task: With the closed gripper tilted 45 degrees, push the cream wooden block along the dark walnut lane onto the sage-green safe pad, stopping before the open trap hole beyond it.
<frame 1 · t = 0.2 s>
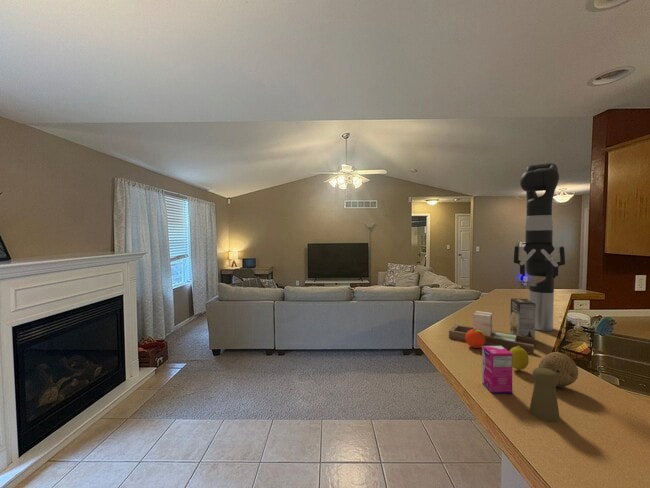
hand: (538, 276, 104), 29 cm above the table, tool pointing down, fingers open, 8 cm apart
coffee box: (521, 339, 127), on the table
supplement box: (496, 389, 86), on the table
natural sponge: (557, 388, 87), on the table
clementine: (476, 348, 117), on the table
cork: (544, 415, 74), on the table
lemon: (518, 371, 98), on the table
walnut lane: (490, 341, 124), on the table
cream block: (482, 332, 126), point 3 cm above the table, touching walnut lane
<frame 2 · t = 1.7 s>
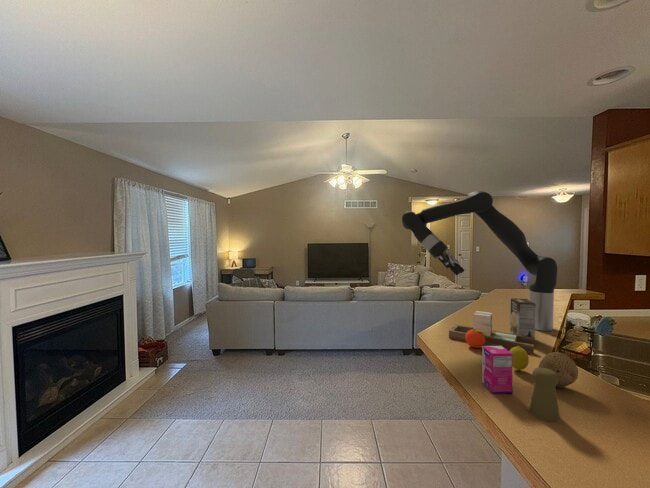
hand: (460, 273, 132), 27 cm above the table, tool tilted 45°, fingers open, 8 cm apart
nothing on the table moved.
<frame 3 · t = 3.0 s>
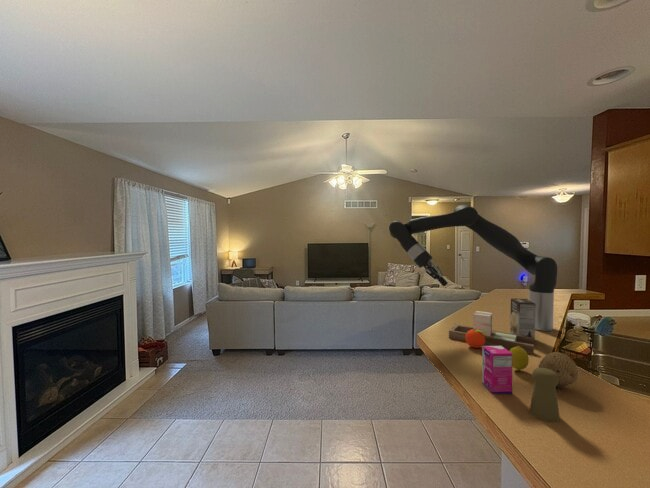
hand: (445, 284, 134), 21 cm above the table, tool tilted 45°, fingers closed
nothing on the table moved.
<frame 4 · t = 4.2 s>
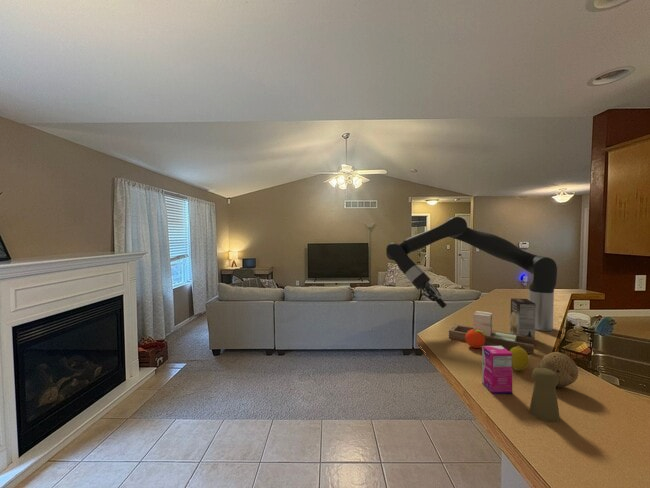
hand: (444, 306, 134), 12 cm above the table, tool tilted 45°, fingers closed
nothing on the table moved.
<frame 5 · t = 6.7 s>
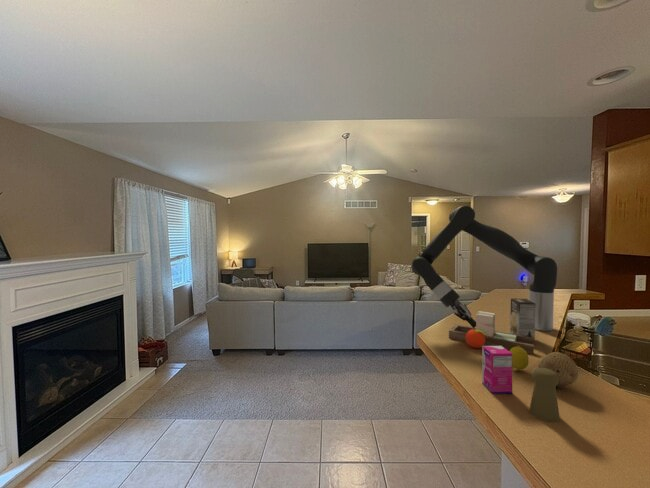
hand: (475, 326, 127), 5 cm above the table, tool tilted 45°, fingers closed
cream block: (485, 333, 125), point 3 cm above the table, touching gripper
everything else where it was.
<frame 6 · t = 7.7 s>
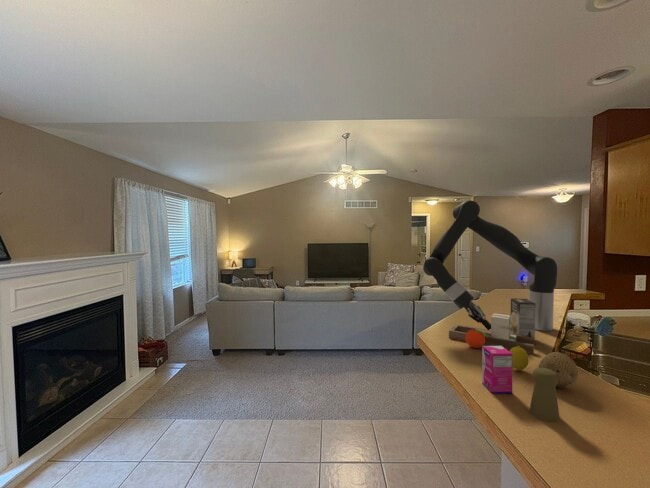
hand: (490, 328, 124), 5 cm above the table, tool tilted 45°, fingers closed
cream block: (500, 335, 122), point 3 cm above the table, touching gripper, walnut lane
everything else where it was.
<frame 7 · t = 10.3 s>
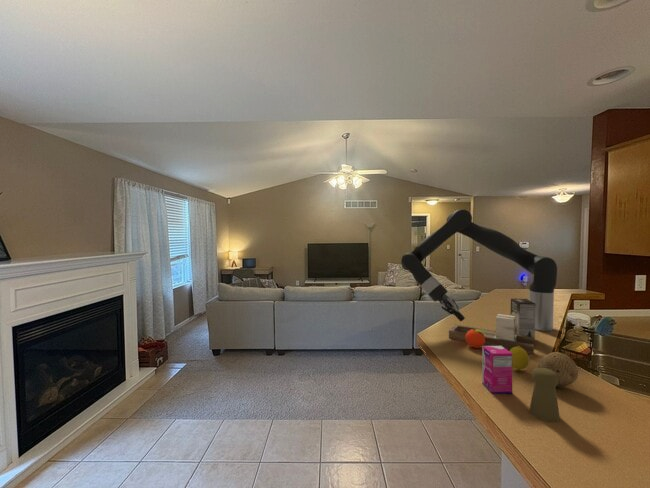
hand: (463, 319, 130), 7 cm above the table, tool tilted 45°, fingers closed
cream block: (505, 336, 121), point 3 cm above the table, touching walnut lane
everything else where it was.
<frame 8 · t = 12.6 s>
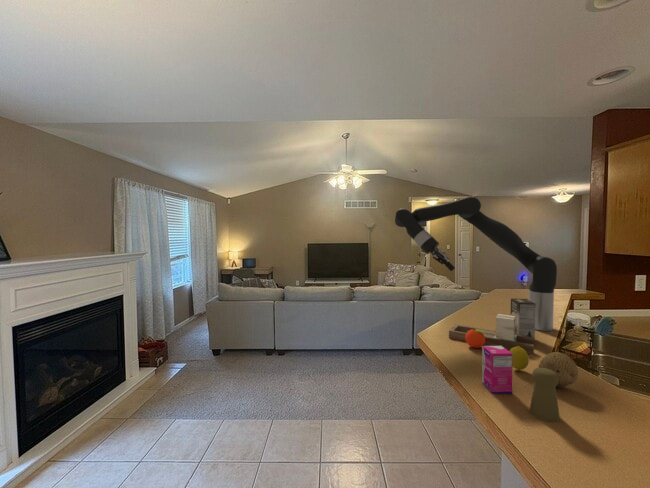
hand: (453, 269, 136), 28 cm above the table, tool tilted 45°, fingers closed
nothing on the table moved.
at the end: cream block 1.3 cm from the target spot, point 3.0 cm above the table; cream block tilted 0°; cream block moved 8.0 cm from its start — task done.
